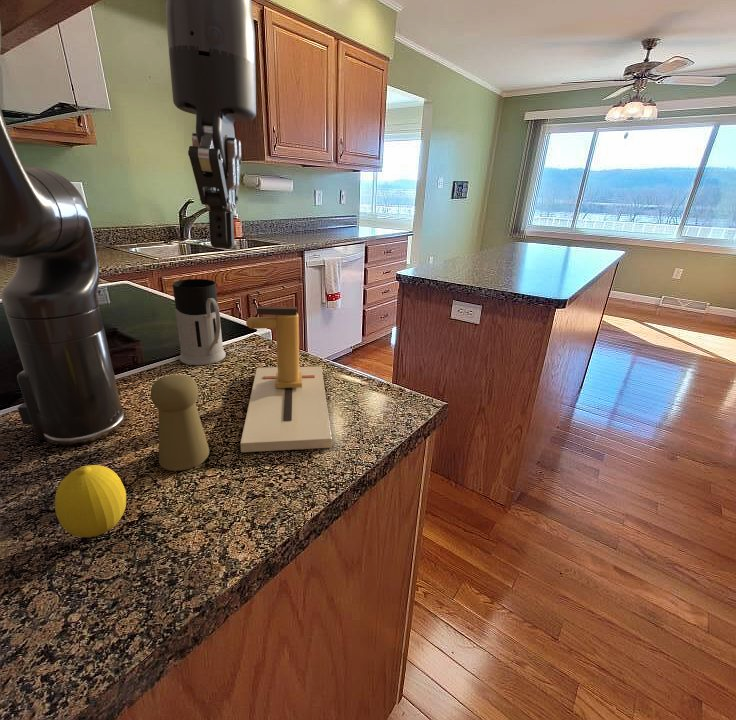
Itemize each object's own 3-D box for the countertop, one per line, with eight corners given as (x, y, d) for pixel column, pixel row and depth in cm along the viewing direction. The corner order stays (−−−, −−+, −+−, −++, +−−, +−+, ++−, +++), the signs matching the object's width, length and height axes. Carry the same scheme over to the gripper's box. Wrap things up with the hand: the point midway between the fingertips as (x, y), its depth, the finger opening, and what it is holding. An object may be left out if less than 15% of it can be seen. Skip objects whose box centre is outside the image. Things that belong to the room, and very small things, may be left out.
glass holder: (215, 345, 86) (207, 276, 80) (245, 367, 77) (240, 291, 71) (173, 354, 81) (161, 281, 75) (200, 379, 71) (190, 297, 65)
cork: (154, 473, 48) (138, 393, 43) (163, 444, 53) (150, 370, 49) (207, 467, 49) (197, 389, 45) (211, 439, 55) (202, 367, 50)
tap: (249, 389, 65) (243, 311, 60) (251, 377, 69) (246, 303, 64) (301, 387, 66) (301, 311, 61) (301, 376, 70) (300, 304, 65)
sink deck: (240, 452, 52) (240, 442, 52) (257, 374, 74) (256, 366, 73) (331, 447, 54) (331, 437, 54) (321, 373, 76) (321, 365, 76)
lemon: (102, 561, 37) (82, 493, 33) (51, 549, 37) (28, 481, 34) (145, 517, 42) (131, 454, 38) (99, 507, 42) (82, 445, 39)
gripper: (190, 68, 42) (202, 237, 49) (142, 22, 30) (166, 254, 37) (263, 78, 43) (264, 242, 50) (244, 38, 31) (249, 260, 38)
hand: (222, 247), depth 43 cm, fingers closed
